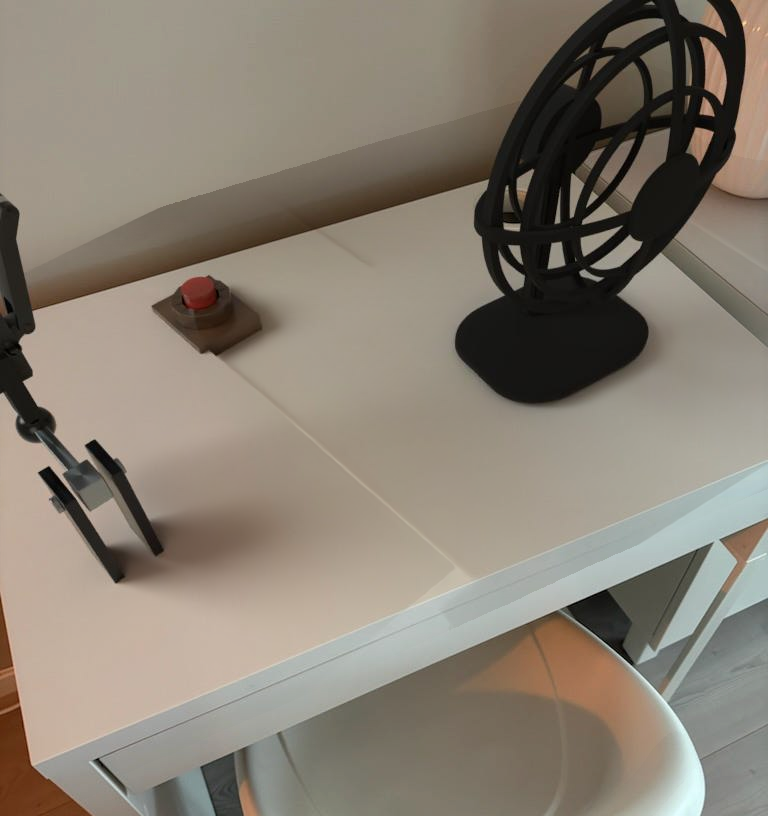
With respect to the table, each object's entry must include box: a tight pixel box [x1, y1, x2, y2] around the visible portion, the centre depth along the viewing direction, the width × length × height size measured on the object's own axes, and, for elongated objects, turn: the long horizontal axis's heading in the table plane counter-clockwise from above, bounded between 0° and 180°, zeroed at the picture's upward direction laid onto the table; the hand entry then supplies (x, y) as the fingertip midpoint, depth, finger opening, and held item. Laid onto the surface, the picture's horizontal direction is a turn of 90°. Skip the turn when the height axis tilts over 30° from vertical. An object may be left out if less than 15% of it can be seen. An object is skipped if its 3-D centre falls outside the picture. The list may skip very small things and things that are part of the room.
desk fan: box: [454, 0, 747, 404], centre depth 67 cm, size 27×18×35 cm, turn 122°
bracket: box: [37, 439, 165, 584], centre depth 63 cm, size 12×9×13 cm
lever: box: [14, 405, 114, 513], centre depth 62 cm, size 13×3×3 cm, turn 42°
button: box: [181, 276, 217, 310], centre depth 83 cm, size 4×4×2 cm
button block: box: [150, 274, 263, 357], centre depth 85 cm, size 10×8×4 cm
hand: (27, 411), depth 62 cm, fingers closed
